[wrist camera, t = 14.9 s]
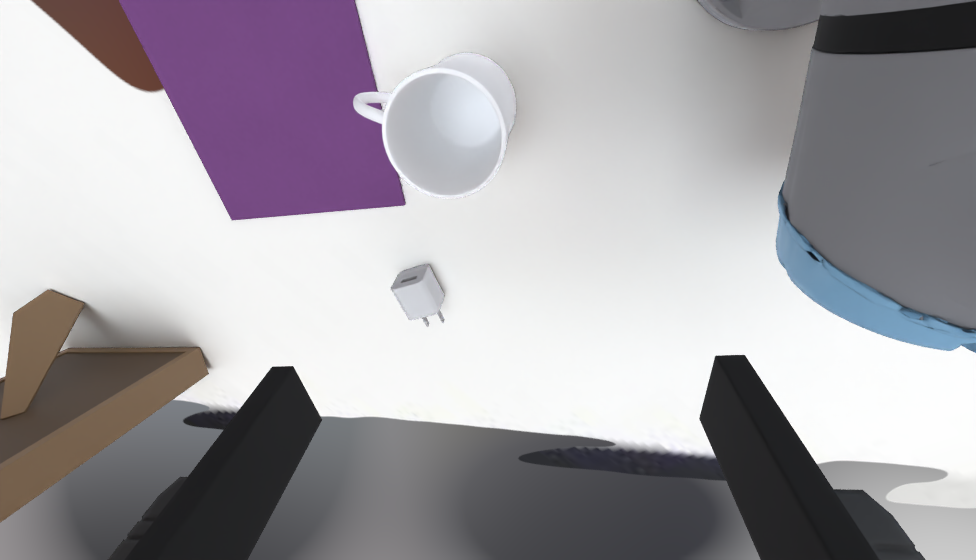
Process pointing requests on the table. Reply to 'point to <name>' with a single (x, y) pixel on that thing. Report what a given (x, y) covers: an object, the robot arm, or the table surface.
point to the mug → (446, 124)
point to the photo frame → (74, 396)
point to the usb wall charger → (418, 293)
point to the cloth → (272, 101)
